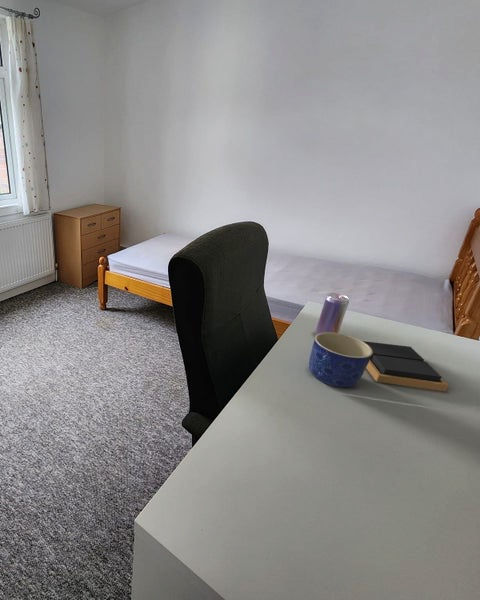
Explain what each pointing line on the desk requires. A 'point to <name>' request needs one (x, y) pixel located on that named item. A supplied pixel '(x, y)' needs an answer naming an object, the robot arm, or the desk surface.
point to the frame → (406, 380)
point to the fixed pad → (393, 351)
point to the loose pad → (405, 368)
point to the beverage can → (332, 313)
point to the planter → (338, 359)
